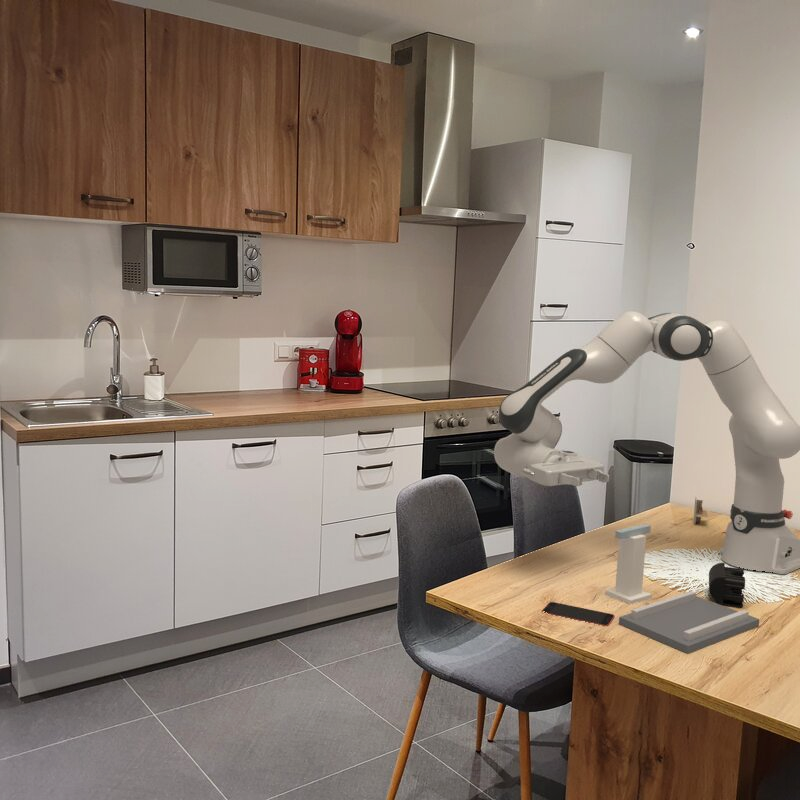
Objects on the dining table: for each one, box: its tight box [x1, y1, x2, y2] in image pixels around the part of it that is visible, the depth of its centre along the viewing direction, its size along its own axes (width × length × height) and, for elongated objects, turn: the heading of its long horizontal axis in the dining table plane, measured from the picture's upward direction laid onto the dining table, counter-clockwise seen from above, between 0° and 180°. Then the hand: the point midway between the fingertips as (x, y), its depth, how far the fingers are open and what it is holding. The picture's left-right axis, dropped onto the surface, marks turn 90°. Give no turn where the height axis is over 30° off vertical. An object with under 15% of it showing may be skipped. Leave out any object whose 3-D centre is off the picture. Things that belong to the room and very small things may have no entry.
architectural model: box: [693, 496, 709, 526], centre depth 242 cm, size 3×7×7 cm, turn 163°
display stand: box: [604, 523, 653, 605], centre depth 182 cm, size 7×10×16 cm
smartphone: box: [541, 601, 616, 627], centre depth 172 cm, size 7×1×14 cm
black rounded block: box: [708, 562, 746, 609], centre depth 183 cm, size 10×7×7 cm
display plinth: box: [618, 590, 760, 654], centre depth 168 cm, size 24×16×3 cm, turn 126°
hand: (593, 480), depth 189 cm, fingers open, 8 cm apart
